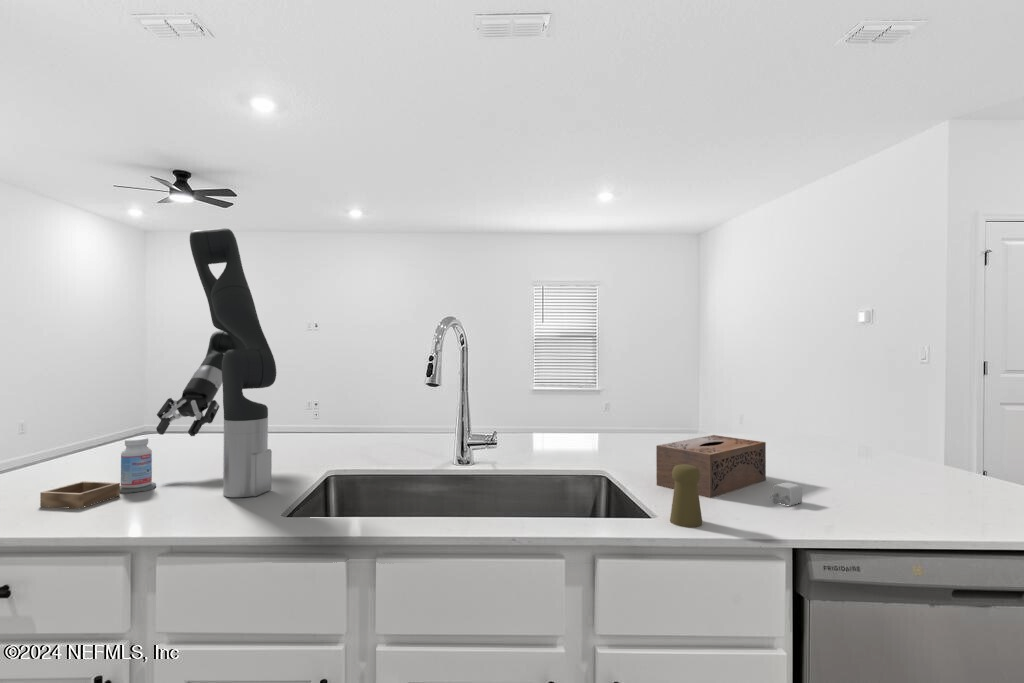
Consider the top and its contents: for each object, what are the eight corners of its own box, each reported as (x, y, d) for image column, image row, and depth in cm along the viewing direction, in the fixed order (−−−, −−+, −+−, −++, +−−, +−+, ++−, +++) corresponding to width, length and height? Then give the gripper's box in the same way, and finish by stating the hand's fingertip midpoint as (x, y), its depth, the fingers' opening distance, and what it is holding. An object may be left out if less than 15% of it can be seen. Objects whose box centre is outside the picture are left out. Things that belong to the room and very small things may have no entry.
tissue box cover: (713, 471, 149) (713, 435, 149) (765, 481, 137) (765, 442, 138) (656, 486, 133) (656, 445, 133) (710, 499, 121) (709, 454, 121)
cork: (665, 517, 107) (665, 462, 107) (694, 516, 108) (694, 461, 108) (677, 527, 101) (676, 469, 101) (708, 526, 102) (707, 468, 102)
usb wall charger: (802, 504, 117) (801, 485, 117) (783, 509, 113) (783, 490, 113) (784, 499, 120) (784, 481, 120) (765, 504, 117) (765, 485, 117)
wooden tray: (119, 496, 122) (119, 482, 122) (79, 508, 113) (79, 494, 113) (83, 494, 124) (83, 481, 124) (40, 506, 114) (40, 492, 114)
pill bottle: (135, 489, 125) (135, 441, 125) (114, 488, 126) (114, 440, 126) (158, 483, 131) (158, 437, 131) (137, 482, 132) (137, 436, 132)
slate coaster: (164, 485, 132) (164, 482, 132) (136, 494, 124) (136, 491, 124) (135, 483, 133) (135, 481, 133) (106, 492, 125) (106, 489, 125)
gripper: (173, 375, 149) (141, 424, 138) (223, 377, 148) (194, 426, 137) (186, 392, 154) (156, 440, 143) (234, 394, 153) (207, 443, 142)
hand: (175, 433), depth 140 cm, fingers open, 8 cm apart
